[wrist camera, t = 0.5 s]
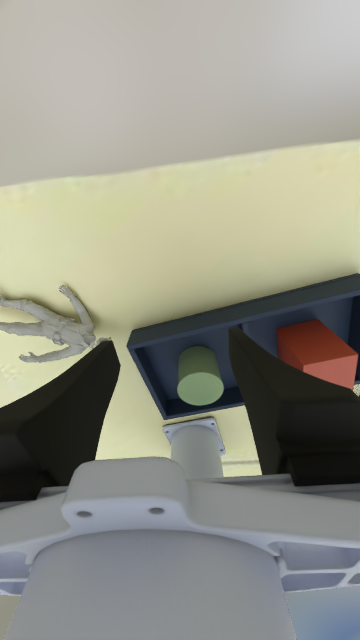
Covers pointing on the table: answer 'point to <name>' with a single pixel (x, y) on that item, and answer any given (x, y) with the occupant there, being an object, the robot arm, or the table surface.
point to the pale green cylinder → (199, 376)
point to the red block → (317, 352)
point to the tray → (255, 321)
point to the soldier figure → (53, 328)
